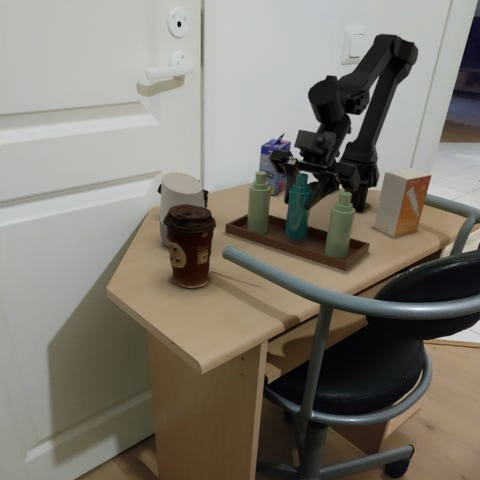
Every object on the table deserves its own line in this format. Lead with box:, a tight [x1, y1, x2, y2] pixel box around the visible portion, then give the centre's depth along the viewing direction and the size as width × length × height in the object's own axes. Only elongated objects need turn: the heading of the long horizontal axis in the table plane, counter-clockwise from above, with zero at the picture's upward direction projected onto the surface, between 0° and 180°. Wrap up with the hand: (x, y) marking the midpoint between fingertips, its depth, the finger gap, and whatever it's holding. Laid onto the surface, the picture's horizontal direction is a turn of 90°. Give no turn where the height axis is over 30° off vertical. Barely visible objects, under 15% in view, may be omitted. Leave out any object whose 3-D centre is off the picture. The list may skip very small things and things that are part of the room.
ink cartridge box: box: [258, 132, 292, 196], centre depth 128 cm, size 10×6×14 cm, turn 158°
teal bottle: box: [285, 172, 313, 239], centre depth 97 cm, size 5×5×12 cm
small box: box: [373, 167, 433, 237], centre depth 107 cm, size 8×6×13 cm
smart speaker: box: [159, 171, 205, 248], centre depth 95 cm, size 10×9×14 cm
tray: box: [225, 213, 371, 272], centre depth 101 cm, size 11×28×2 cm, turn 54°
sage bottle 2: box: [324, 191, 356, 259], centre depth 94 cm, size 5×5×12 cm
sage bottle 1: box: [247, 170, 272, 234], centre depth 103 cm, size 5×5×12 cm
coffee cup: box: [163, 204, 217, 289], centre depth 83 cm, size 9×8×13 cm
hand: (295, 205), depth 96 cm, fingers closed on teal bottle, 4 cm apart
